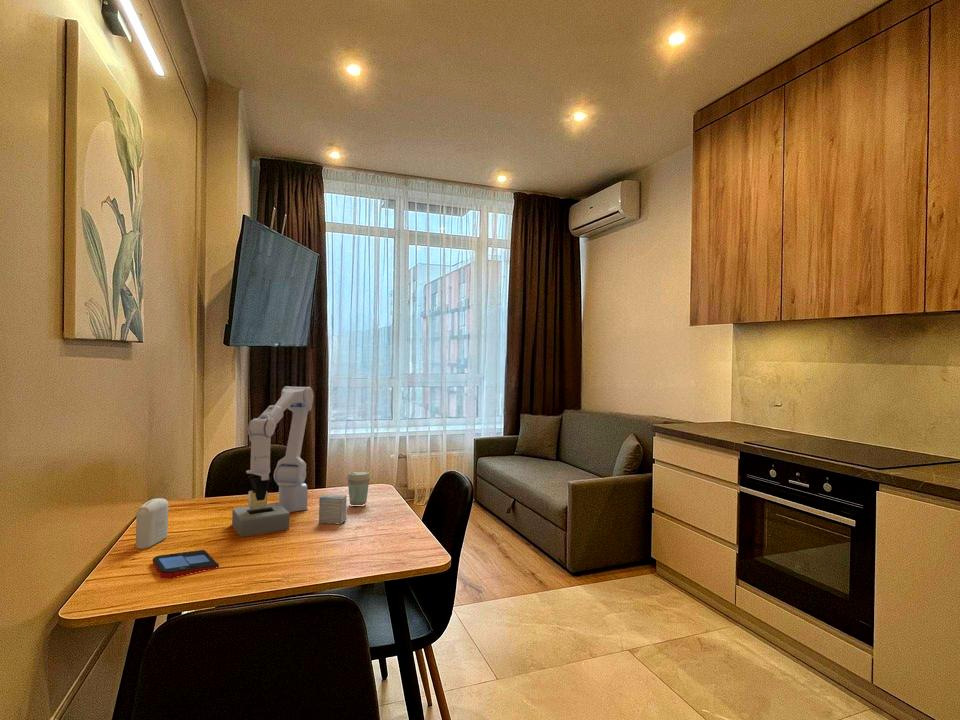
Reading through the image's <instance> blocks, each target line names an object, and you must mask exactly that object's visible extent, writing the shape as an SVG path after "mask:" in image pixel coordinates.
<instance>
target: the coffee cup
mask: <svg viewBox="0 0 960 720" xmlns="http://www.w3.org/2000/svg"><path fill="white" fill-rule="evenodd" d="M370 479H371V475H370V472H369V471H365V470H353V471H350V472H348V475H347V477H346V480H347V486H348V496H349V497H348V498H349V499H348V500H349V505H350V504H351V505H363V504H365V503H366V504H367V500H368V493H369V485H370Z"/></svg>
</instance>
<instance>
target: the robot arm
mask: <svg viewBox="0 0 960 720" xmlns="http://www.w3.org/2000/svg"><path fill="white" fill-rule="evenodd" d="M314 395H315V394H314V390H313V389H312V387H310V386H289V385H286V386H283V388H282V390H281V393H280V398H279V399H278V400H277V401H276V403H275V404H271V405H269V406H267V408H266V409H265V410H264V411H263V412H262V413H261V414H260V415H259V416H258V417H257V418H256V417H255V418H252V419H251V420H250V421H249V423H248V426H247V428H246V429H247V434H248V436H249V442H250V469H248V470H246V471H245V473H246V474H249V475H248V479H249V481H250V483H251V486H252V487H251V488H252V491H254V490H255V491H256V498H257V501H258V500H264V499H265V495H266V491H267V490H268V488H269V485H270V483H271V482H272V480H273V479H274V481H275V483H276V486H278V503H279V504H280V505H281V506H283V507H284V508H285V509H286V510H287V511H288V512H289V513H293V512H294V513H295V512H300V511H306V510H308V500H309V499H308V497H309V495H308V494H309V493H308V491H309V490H308V484H306V483H305V480H306V478H307V463H306V461H304V459H302V457H301V454H302V449H303V441H304V436H305V432H306V431H305V430H306V427H307V426H306V424H307V419H308V414H309V412H310V411H312V408H313V403H314V397H315V396H314ZM286 410H289V411H291V412H292V418H291V423H290V429H289V435H288V439H287V444H286V451H285V454H284V455H285V456H283V457H282V458H280V459H279V460H278V461H277V464H276V467H275V469H274V471H273V479H272V477H270V473H271V445H272V444H271V439H272V436H273V435H274V434H275V430H276V428H277V424H279V422H280V421H281V419H283V417H284V412H285V411H286ZM267 492H268V491H267Z"/></svg>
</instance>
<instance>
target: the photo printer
mask: <svg viewBox="0 0 960 720" xmlns="http://www.w3.org/2000/svg"><path fill="white" fill-rule="evenodd" d="M135 520H136V521H135V523H136V524H135V548H136V549H140V550H141V549H142V550H143V549H147V548H150V547H153V546H154V545H156V544H159V543H160V542H161V541H163V540H166V538H167V537H168V534H169V533H168V532H169V531H168V529H169V528H168V527H169V502H168V500H167V499H165V498H159V497H158V498H153V499H149V500H148V501H146V502H145V503H143V504H142V505H141V506H140V507H139V508H138V509H137V512H136V519H135Z"/></svg>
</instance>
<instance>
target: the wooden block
mask: <svg viewBox="0 0 960 720" xmlns="http://www.w3.org/2000/svg"><path fill="white" fill-rule="evenodd" d="M247 498H248V499H247V500H248V501H247V502H248V503H247V506H248V507H249V508H250V509H255V508H263V507H267V504H268V491H266V495H265V499H264V500H258V501H257V498H256V491H255V490H254V491H253V490H249V491H248V497H247Z"/></svg>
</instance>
